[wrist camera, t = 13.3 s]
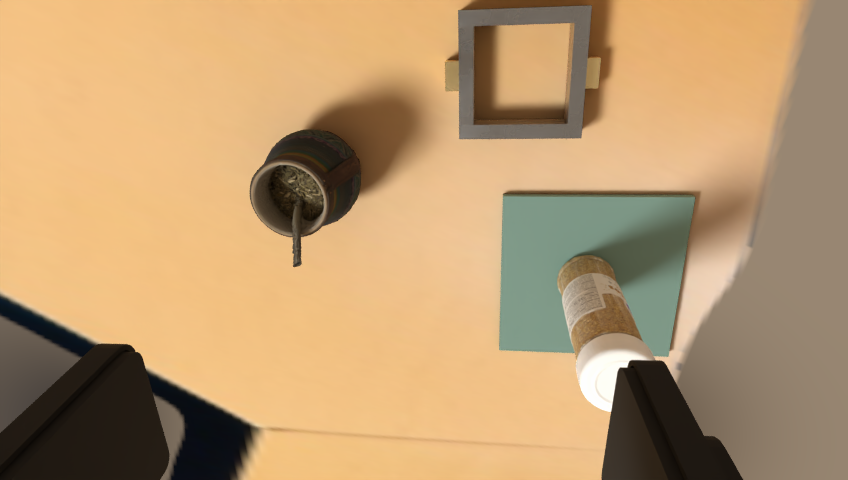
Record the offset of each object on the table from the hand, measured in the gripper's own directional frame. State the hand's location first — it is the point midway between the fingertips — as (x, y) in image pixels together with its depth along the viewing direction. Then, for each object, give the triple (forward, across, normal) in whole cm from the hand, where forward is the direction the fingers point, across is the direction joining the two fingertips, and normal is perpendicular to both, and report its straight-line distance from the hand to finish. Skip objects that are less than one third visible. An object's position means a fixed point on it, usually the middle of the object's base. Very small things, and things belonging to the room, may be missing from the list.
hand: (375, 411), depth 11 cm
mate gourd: (+33, +10, +5) cm, 34 cm away
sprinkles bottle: (+31, -11, +13) cm, 36 cm away
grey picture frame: (+32, -5, -2) cm, 33 cm away
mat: (+32, -12, +13) cm, 36 cm away
